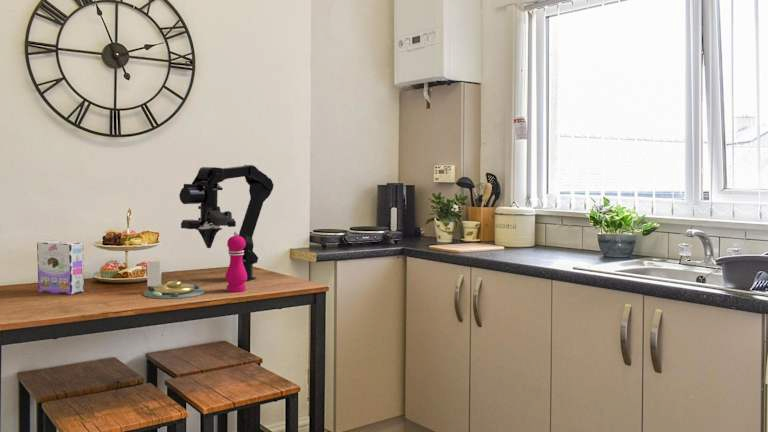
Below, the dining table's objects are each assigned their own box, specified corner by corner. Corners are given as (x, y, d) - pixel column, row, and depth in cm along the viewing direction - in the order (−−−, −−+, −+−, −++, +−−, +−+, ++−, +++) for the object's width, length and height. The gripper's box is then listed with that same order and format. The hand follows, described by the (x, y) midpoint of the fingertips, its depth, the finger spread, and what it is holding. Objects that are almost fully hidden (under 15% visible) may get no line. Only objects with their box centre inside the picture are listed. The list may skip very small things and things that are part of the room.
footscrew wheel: (199, 287, 224) (199, 259, 224) (187, 294, 212) (187, 265, 211) (155, 286, 224) (154, 258, 224) (141, 293, 212) (141, 264, 211)
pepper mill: (241, 293, 221) (242, 232, 219) (221, 291, 222) (221, 231, 221) (250, 289, 228) (250, 230, 226) (230, 288, 229) (230, 229, 228)
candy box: (84, 292, 217) (84, 241, 216) (70, 295, 212) (70, 243, 210) (51, 288, 222) (50, 239, 220) (37, 291, 216) (36, 241, 215)
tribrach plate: (216, 293, 219) (216, 288, 219) (163, 301, 205) (163, 295, 205) (184, 285, 231) (184, 280, 231) (132, 292, 217) (132, 287, 217)
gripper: (198, 205, 219) (198, 252, 220) (245, 203, 233) (244, 248, 234) (180, 203, 227) (180, 249, 228) (226, 202, 241) (226, 245, 242)
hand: (208, 248), depth 233 cm, fingers closed
